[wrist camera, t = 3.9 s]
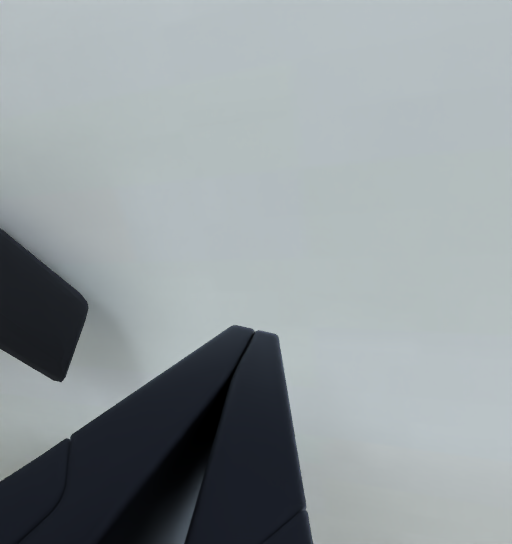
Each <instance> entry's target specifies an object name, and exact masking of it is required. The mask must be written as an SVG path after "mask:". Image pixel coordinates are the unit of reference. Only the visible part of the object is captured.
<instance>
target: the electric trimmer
mask: <svg viewBox="0 0 512 544" xmlns="http://www.w3.org/2000/svg"><path fill="white" fill-rule="evenodd" d="M87 312H88V304H87V301H86V300H85V299H84V298H83V296H82V295H81V294H80V293H79V292H78V291H77V290H75V289H74V288H73V287H72V286H71V285H69V284H68V283H67V282H66V281H64V280H63V279H62V278H61V277H59V276H58V275H57V274H56V273H55V272H53V271H52V270H51V269H50V268H48V267H47V266H46V265H45V264H43V263H42V262H41V261H40V260H38V259H37V258H36V257H35V256H34V255H32V254H31V253H30V252H29V251H27V250H26V249H25V248H24V247H22V246H21V245H20V244H19V243H18V242H16V241H15V240H14V239H13V238H11V237H10V236H9V235H8V234H6V233H5V232H4V231H3V230H1V229H0V349H1V350H3V351H5V352H7V353H8V354H10V355H12V356H13V357H15V358H17V359H18V360H20V361H22V362H23V363H25V364H27V365H28V366H30V367H32V368H33V369H35V370H37V371H39V372H40V373H42V374H44V375H45V376H47V377H49V378H50V379H52V380H54V381H58V382H62V381H63V380H64V378H65V377H66V374H67V371H68V368H69V365H70V363H71V360H72V357H73V354H74V351H75V348H76V345H77V342H78V340H79V337H80V334H81V331H82V328H83V326H84V322H85V319H86V316H87Z"/></svg>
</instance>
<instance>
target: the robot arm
mask: <svg viewBox="0 0 512 544" xmlns="http://www.w3.org/2000/svg"><path fill="white" fill-rule="evenodd" d="M0 544H313V542H312V536H311V530H310V524H309V518H308V513H307V511H306V501H305V495H304V489H303V483H302V477H301V471H300V465H299V459H298V453H297V447H296V441H295V435H294V429H293V423H292V416H291V410H290V404H289V398H288V392H287V386H286V380H285V374H284V368H283V362H282V356H281V350H280V344H279V338H278V336H277V335H276V334H273V333H269V332H264V331H259V330H258V331H256V332H255V331H254V330H253V329H251V328H246V327H242V326H238V325H234V326H231V327H229V328H228V329H226V330H225V331H223V332H222V333H221V334H219V335H218V336H216V337H215V338H213V339H212V340H210V341H209V342H207V343H206V344H204V345H203V346H201V347H200V348H198V349H197V350H196V351H194V352H193V353H191V354H190V355H188V356H187V357H185V358H184V359H182V360H181V361H179V362H178V363H176V364H175V365H173V366H172V367H171V368H169V369H168V370H166V371H165V372H163V373H162V374H160V375H159V376H157V377H156V378H154V379H153V380H151V381H150V382H148V383H147V384H146V385H144V386H143V387H141V388H140V389H138V390H137V391H135V392H134V393H132V394H131V395H129V396H128V397H126V398H125V399H123V400H122V401H121V402H119V403H118V404H116V405H115V406H113V407H112V408H110V409H109V410H107V411H106V412H104V413H103V414H101V415H100V416H98V417H97V418H96V419H94V420H93V421H91V422H90V423H88V424H87V425H85V426H84V427H82V428H81V429H79V430H78V431H76V432H75V433H73V434H72V435H71V437H70V439H64V440H63V441H61V442H60V443H58V444H57V445H55V446H54V447H53V448H51V449H50V450H48V451H47V452H45V453H44V454H42V455H41V456H39V457H38V458H36V459H35V460H33V461H31V462H30V463H28V464H27V465H25V466H24V467H22V468H21V469H19V470H18V471H16V472H14V473H13V474H11V475H10V476H8V477H7V478H5V479H4V480H2V481H0Z"/></svg>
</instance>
